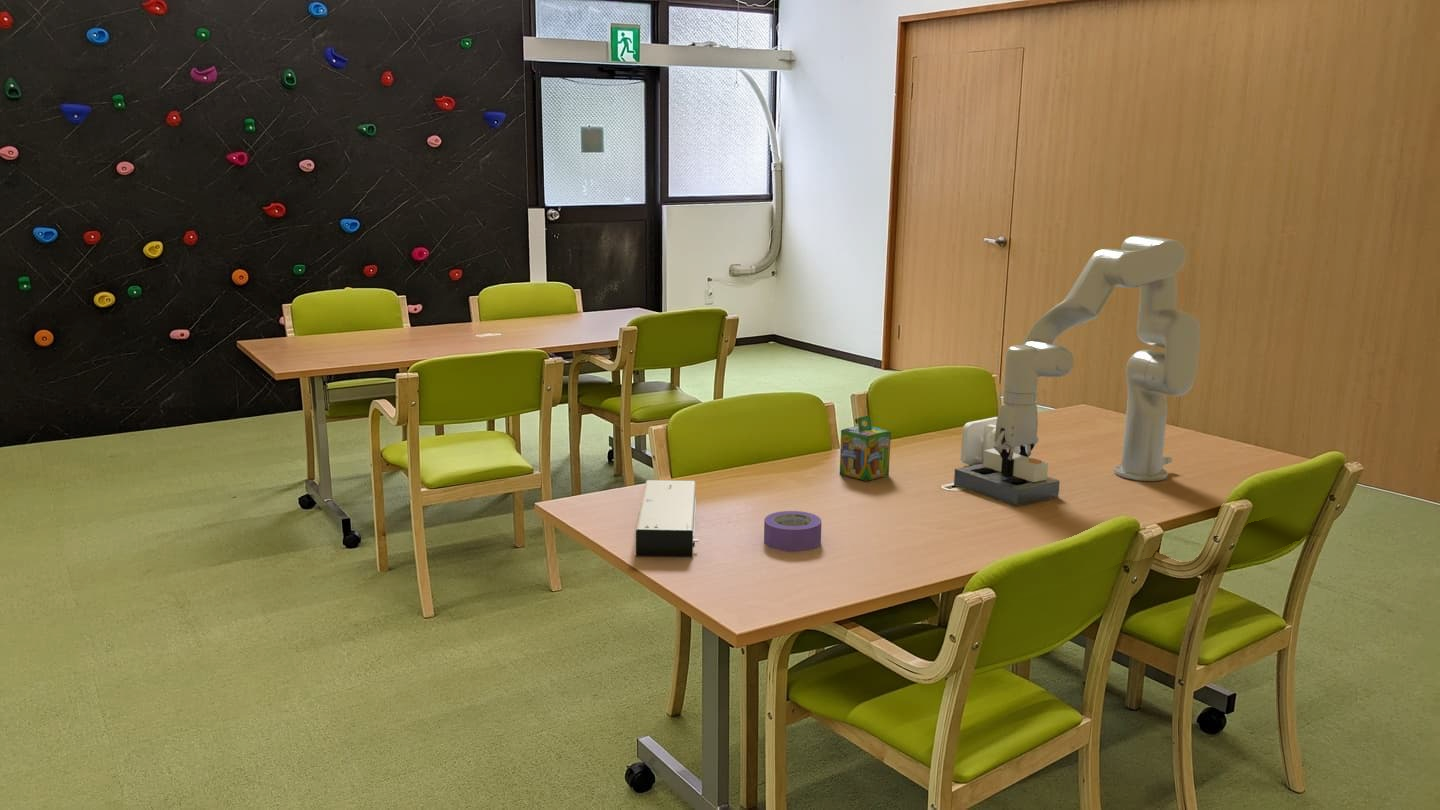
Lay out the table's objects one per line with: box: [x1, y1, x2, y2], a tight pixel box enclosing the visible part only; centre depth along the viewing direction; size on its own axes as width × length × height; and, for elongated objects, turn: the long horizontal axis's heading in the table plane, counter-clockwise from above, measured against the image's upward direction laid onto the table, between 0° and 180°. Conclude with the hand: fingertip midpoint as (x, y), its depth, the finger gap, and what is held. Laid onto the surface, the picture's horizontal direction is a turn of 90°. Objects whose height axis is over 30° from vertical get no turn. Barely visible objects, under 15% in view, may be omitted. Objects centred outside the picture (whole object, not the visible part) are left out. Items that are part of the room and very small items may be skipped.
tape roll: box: [763, 510, 822, 553], centre depth 236 cm, size 12×12×5 cm
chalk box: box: [839, 414, 892, 482], centre depth 284 cm, size 9×9×15 cm
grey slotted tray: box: [953, 463, 1061, 508], centre depth 273 cm, size 14×20×4 cm
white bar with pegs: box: [982, 448, 1049, 482], centre depth 274 cm, size 4×16×8 cm, turn 34°
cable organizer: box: [960, 416, 1030, 466], centre depth 293 cm, size 15×11×12 cm
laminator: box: [635, 479, 699, 558], centre depth 242 cm, size 34×12×6 cm, turn 0°
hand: (1014, 472), depth 274 cm, fingers closed on white bar with pegs, 4 cm apart
